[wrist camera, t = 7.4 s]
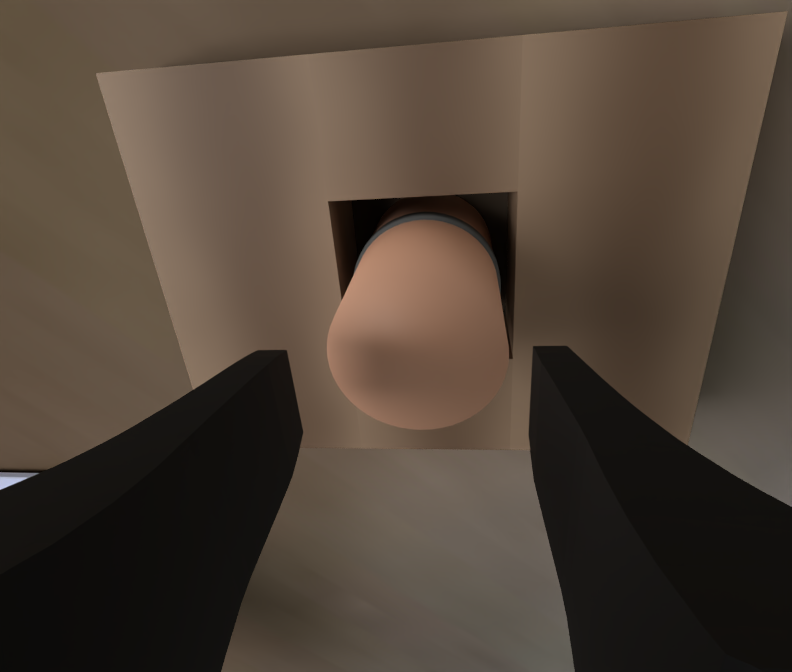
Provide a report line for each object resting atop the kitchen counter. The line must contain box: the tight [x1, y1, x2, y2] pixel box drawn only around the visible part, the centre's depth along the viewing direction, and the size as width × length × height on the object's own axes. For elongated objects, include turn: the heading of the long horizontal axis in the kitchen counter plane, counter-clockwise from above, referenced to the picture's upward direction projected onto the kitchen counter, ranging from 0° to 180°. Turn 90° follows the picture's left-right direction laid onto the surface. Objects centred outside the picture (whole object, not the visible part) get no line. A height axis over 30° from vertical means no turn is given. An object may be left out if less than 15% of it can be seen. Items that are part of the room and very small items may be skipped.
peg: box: [327, 195, 509, 430], centre depth 15 cm, size 4×4×7 cm
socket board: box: [96, 11, 788, 450], centre depth 16 cm, size 16×12×3 cm
